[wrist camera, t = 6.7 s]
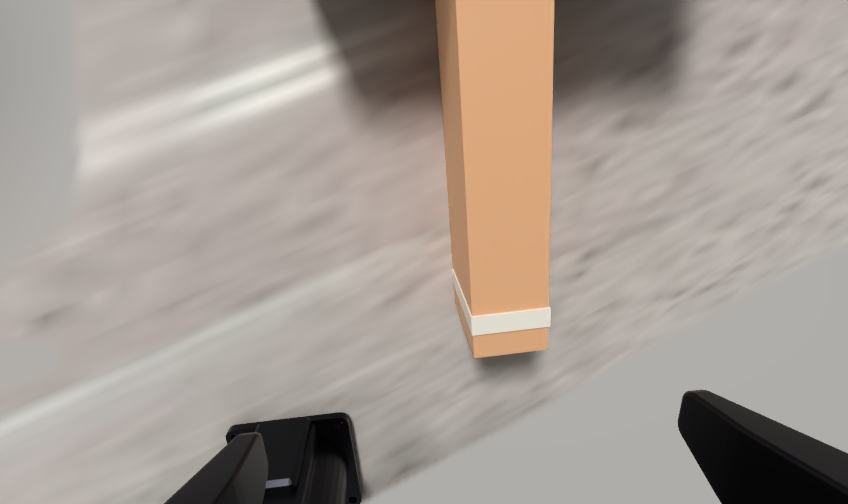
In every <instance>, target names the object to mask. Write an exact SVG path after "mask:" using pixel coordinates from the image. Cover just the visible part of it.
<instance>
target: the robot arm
mask: <svg viewBox="0 0 848 504" xmlns="http://www.w3.org/2000/svg"><path fill="white" fill-rule="evenodd" d="M338 421H340V422H343V423H341V424H339V423H337V422H338ZM678 427H679V431H680V433H681V435H682V437H683V438H684V440H685V442H686V444H687V446H688V447H689V449H690V451H691V452H692V454H693V456H694V457H695V459H696V461H697V463H698V464H699V466H700V468H701V470H702V471H703V473H704V475H705V476H706V478H707V480H708V482H709V483H710V485H711V487H712V488H713V490H714V492H715V493H716V495H717V497H718V498H719V500H720V502H721V503H722V504H848V453H845V452H843V451H841V450H839V449H836V448H834V447H832V446H830V445H828V444H825V443H823V442H821V441H819V440H816V439H814V438H812V437H810V436H807V435H805V434H803V433H801V432H798V431H796V430H794V429H792V428H790V427H787V426H785V425H783V424H781V423H778V422H776V421H774V420H772V419H769V418H767V417H765V416H763V415H761V414H758V413H756V412H754V411H752V410H749V409H747V408H745V407H743V406H741V405H738V404H736V403H734V402H731V401H729V400H727V399H725V398H723V397H720V396H718V395H716V394H714V393H712V392H709V391H707V390H695V391H687V392H686V393H685V394H684V395H683V398H682V403H681V408H680V413H679V418H678ZM234 434H238V436H236V435H234ZM226 441H227V445H226V446H225V447H224V448H223V449H222V450H221V451H220V452H219V453H218V454H217V455H216V456H215V457H214V458H212V459H211V460H210V461H209V462H208V463H207V464H206V465H205V466H204V467H203V468H202V469H201V470H200V471H198V472H197V473H196V474H195V475H194V476H193V477H192V478H191V479H190V480H189V481H188V482H187V483H186V484H184V485H183V486H182V487H181V488H180V489H179V490H178V491H177V492H176V493H175V494H174V495H173V496H172V497H171V498H169V499H168V500H167V501H166V502H165V503H164V504H360V502H361V499H362V491H361V485H360V479H359V473H358V468H357V462H356V456H355V450H354V444H353V439H352V433H351V427H350V421H349V417H348V416H347V415H346V414H344V413H331V414H322V415H314V416H306V417H297V418H289V419H281V420H272V421H264V422H256V423H247V424H239V425H234V426H232V427H230V429H229V430H228V433H227V435H226Z"/></svg>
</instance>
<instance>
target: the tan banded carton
mask: <svg viewBox="0 0 848 504" xmlns="http://www.w3.org/2000/svg"><path fill="white" fill-rule="evenodd" d="M435 6H436V21H437V36H438V51H439V66H440V81H441V96H442V111H443V127H444V142H445V157H446V172H447V187H448V202H449V217H450V232H451V247H452V262H453V268H452V277H453V284H454V292H455V303H456V306H457V309H458V312H459V315H460V318H461V321H462V324H463V327H464V330H465V333H466V336H467V339H468V342H469V344H470V347H471V350H472V353H473V356H474V358H481V357H489V356H498V355H506V354H514V353H522V352H530V351H539V350H547V349H548V327H550V322H551V308H550V307H549V260H550V208H551V156H552V103H553V51H554V0H435Z"/></svg>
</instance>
